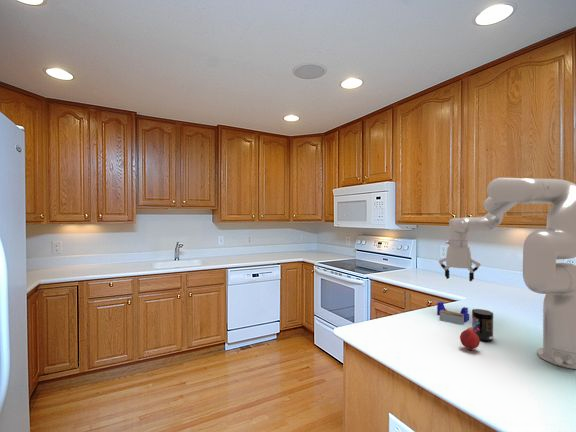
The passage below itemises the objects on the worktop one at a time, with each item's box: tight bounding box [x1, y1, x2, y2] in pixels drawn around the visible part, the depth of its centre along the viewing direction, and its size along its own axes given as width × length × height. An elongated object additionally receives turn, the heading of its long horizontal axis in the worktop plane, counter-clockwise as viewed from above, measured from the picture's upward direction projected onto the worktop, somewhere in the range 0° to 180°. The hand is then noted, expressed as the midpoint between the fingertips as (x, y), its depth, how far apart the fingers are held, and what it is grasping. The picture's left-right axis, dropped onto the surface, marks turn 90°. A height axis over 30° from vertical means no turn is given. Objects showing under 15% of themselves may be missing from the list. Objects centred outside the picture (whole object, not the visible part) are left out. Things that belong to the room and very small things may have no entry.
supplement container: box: [471, 308, 494, 343], centre depth 109 cm, size 7×7×10 cm
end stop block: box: [439, 309, 465, 326], centre depth 127 cm, size 3×9×4 cm, turn 49°
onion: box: [459, 326, 481, 351], centre depth 100 cm, size 6×6×8 cm
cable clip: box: [436, 301, 470, 323], centre depth 133 cm, size 12×4×6 cm, turn 39°
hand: (459, 279), depth 137 cm, fingers open, 9 cm apart
